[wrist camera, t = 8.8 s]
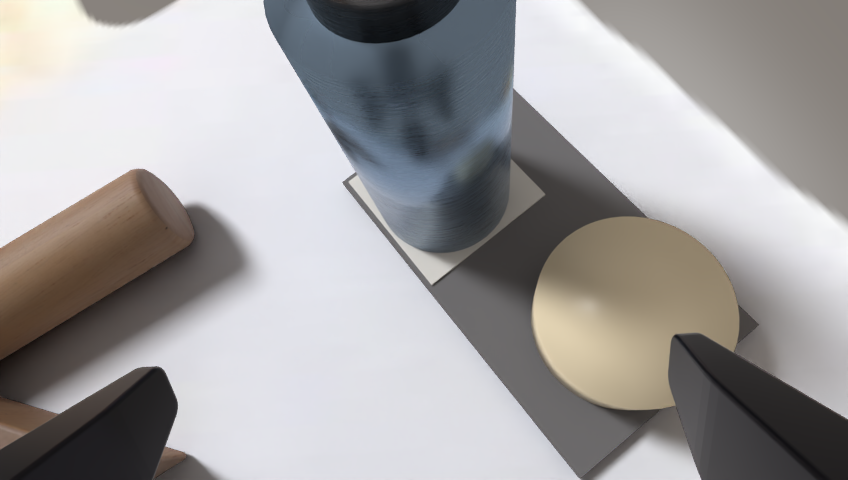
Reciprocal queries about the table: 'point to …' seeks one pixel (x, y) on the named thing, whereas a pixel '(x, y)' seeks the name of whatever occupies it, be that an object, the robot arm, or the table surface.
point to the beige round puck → (627, 309)
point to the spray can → (413, 105)
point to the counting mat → (529, 282)
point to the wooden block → (84, 271)
